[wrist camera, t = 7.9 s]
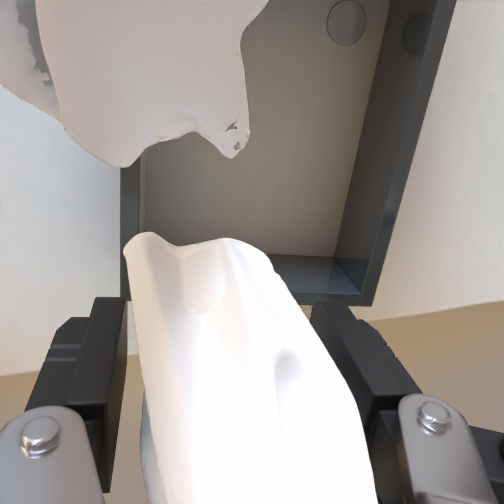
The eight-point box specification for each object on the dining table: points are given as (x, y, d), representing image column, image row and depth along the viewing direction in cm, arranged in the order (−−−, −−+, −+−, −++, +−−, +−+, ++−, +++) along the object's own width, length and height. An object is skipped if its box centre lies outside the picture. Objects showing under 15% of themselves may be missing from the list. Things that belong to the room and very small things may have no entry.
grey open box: (128, 260, 30) (119, 301, 25) (132, -91, 22) (120, -131, 17) (343, 269, 33) (372, 307, 28) (414, -35, 25) (473, -56, 20)
